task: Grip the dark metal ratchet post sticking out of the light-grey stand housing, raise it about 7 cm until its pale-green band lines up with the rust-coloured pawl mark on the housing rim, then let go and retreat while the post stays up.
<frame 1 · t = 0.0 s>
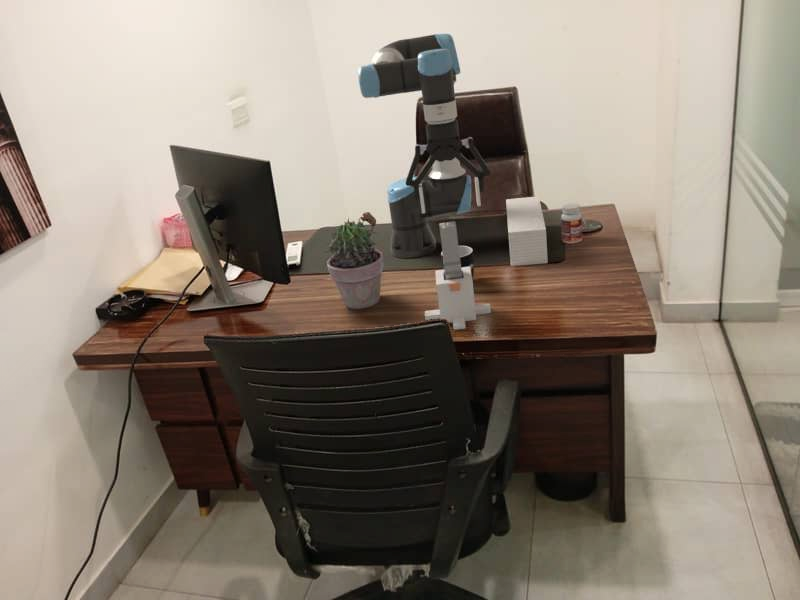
hand: (451, 208, 164), 28 cm above the table, fingers open, 13 cm apart
housing: (457, 313, 174), on the table
post: (452, 269, 169), point 12 cm above the table, slide at 0.0 cm
stack of papers: (526, 246, 211), on the table
pill bottle: (572, 241, 209), on the table
potted plant: (360, 303, 189), on the table
mug: (461, 282, 192), on the table
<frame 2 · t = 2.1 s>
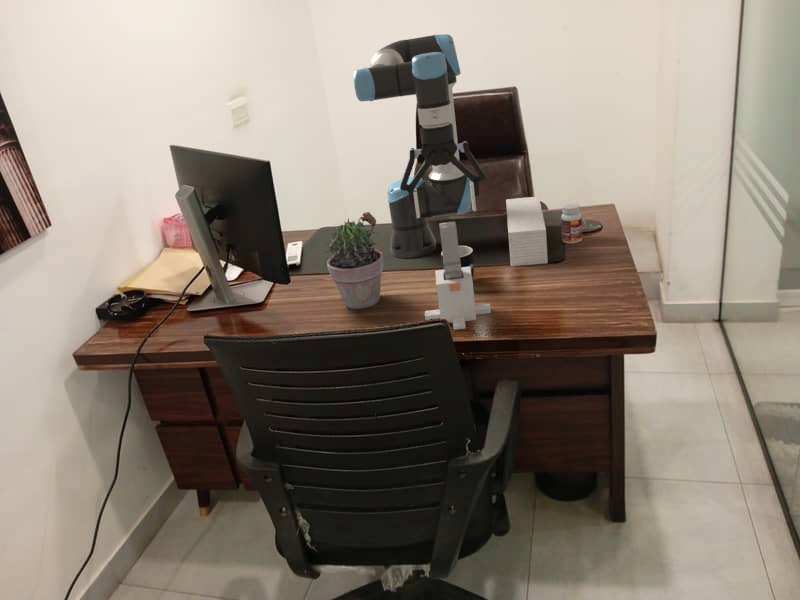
hand: (446, 213, 162), 28 cm above the table, fingers open, 13 cm apart
nothing on the table moved.
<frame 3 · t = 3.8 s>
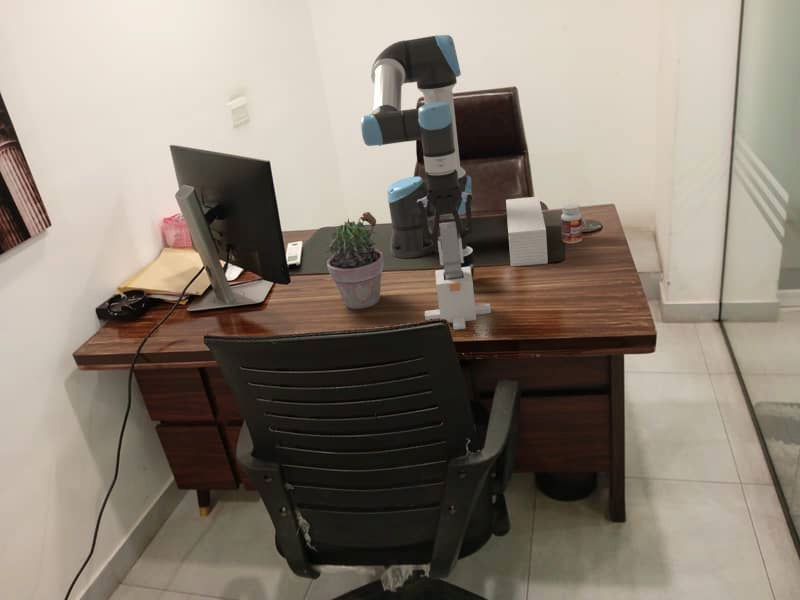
hand: (451, 261, 168), 15 cm above the table, fingers closed on post, 4 cm apart
post: (452, 269, 169), point 12 cm above the table, slide at 0.0 cm, touching gripper
everything else where it was.
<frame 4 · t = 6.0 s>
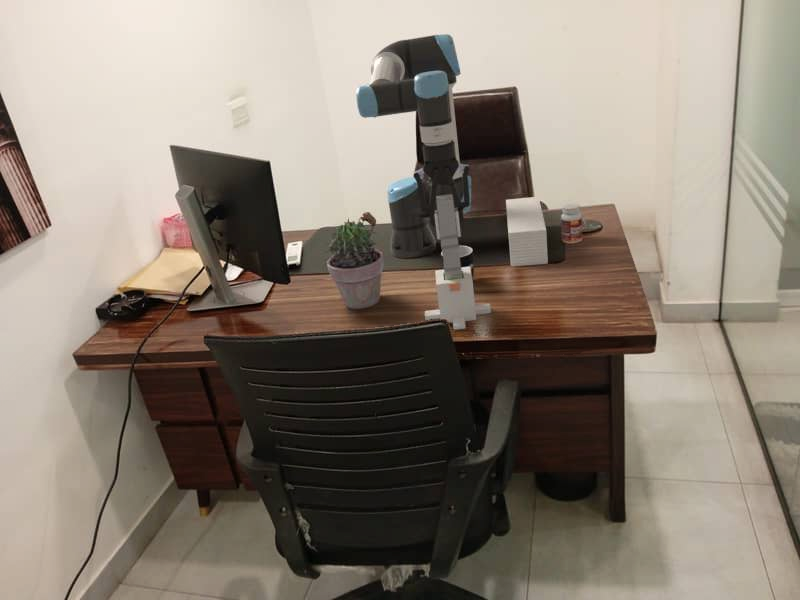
hand: (448, 235, 165), 22 cm above the table, fingers closed on post, 4 cm apart
post: (449, 244, 166), point 19 cm above the table, slide at 6.9 cm, touching gripper
everything else where it was.
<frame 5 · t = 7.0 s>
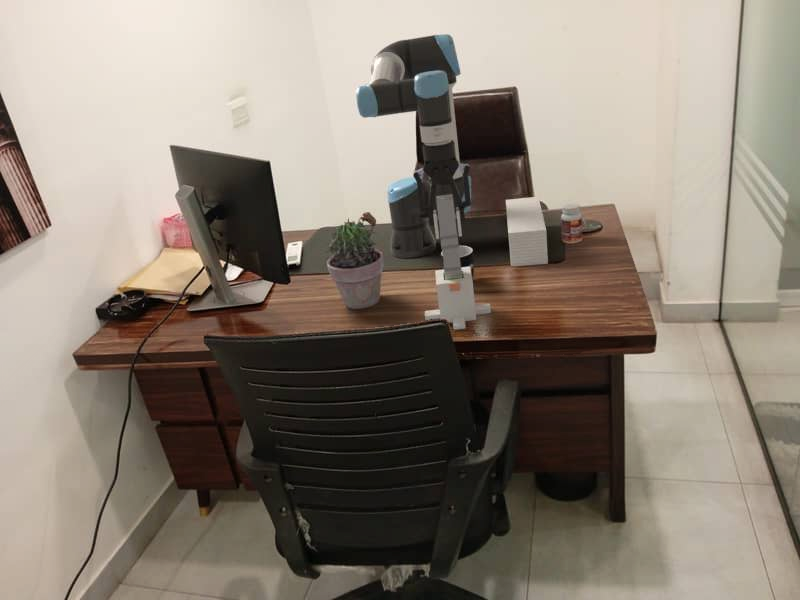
hand: (448, 235, 165), 22 cm above the table, fingers open, 5 cm apart
post: (449, 244, 166), point 19 cm above the table, slide at 7.0 cm
everything else where it was.
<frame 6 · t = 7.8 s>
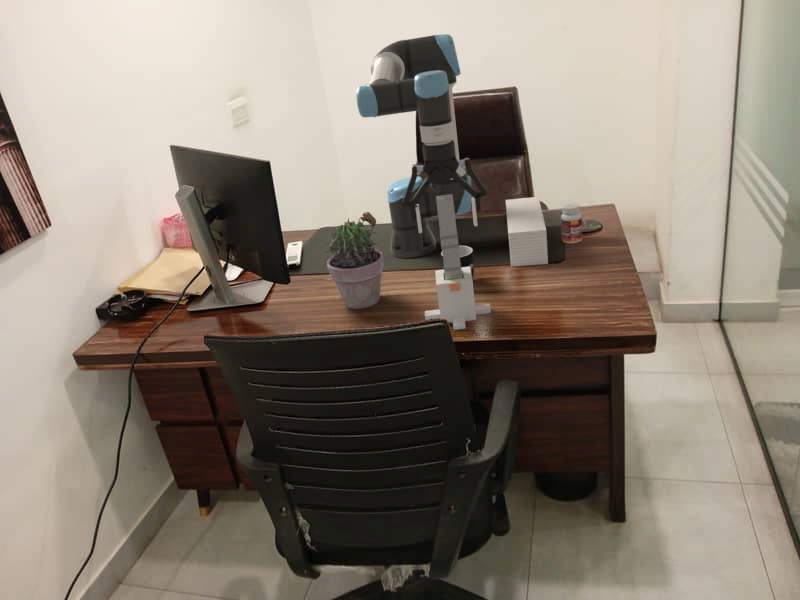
hand: (447, 228, 164), 24 cm above the table, fingers open, 13 cm apart
nothing on the table moved.
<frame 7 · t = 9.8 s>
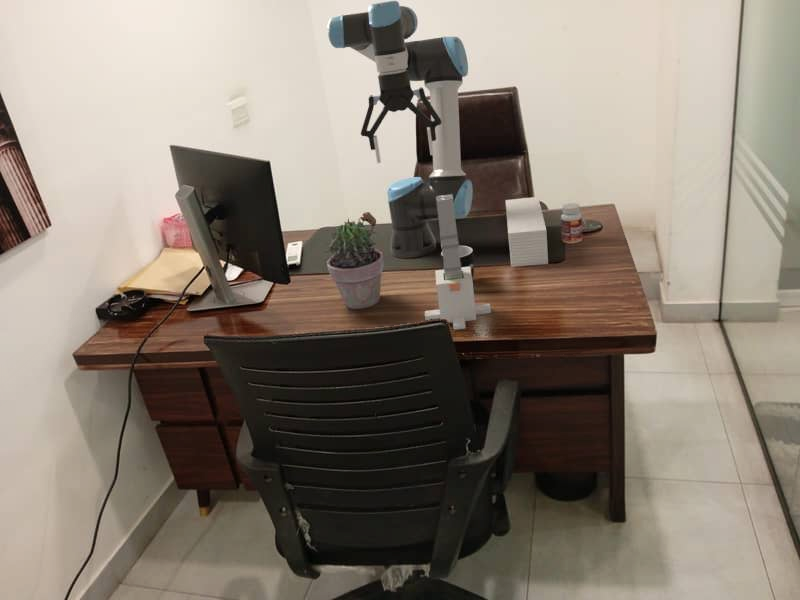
hand: (405, 158, 171), 39 cm above the table, fingers open, 13 cm apart
nothing on the table moved.
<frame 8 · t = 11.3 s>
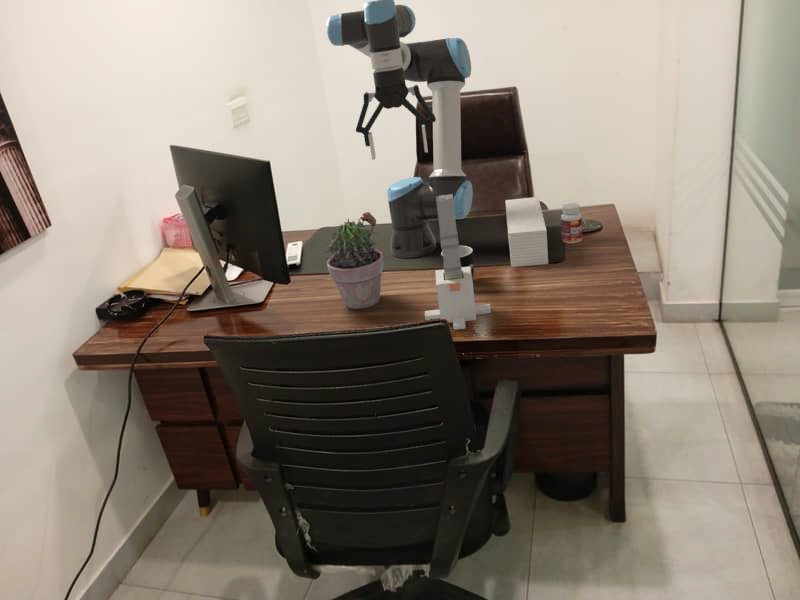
hand: (400, 155, 172), 40 cm above the table, fingers open, 13 cm apart
nothing on the table moved.
at the end: post slide at 7.0 cm; the gripper is holding nothing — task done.
